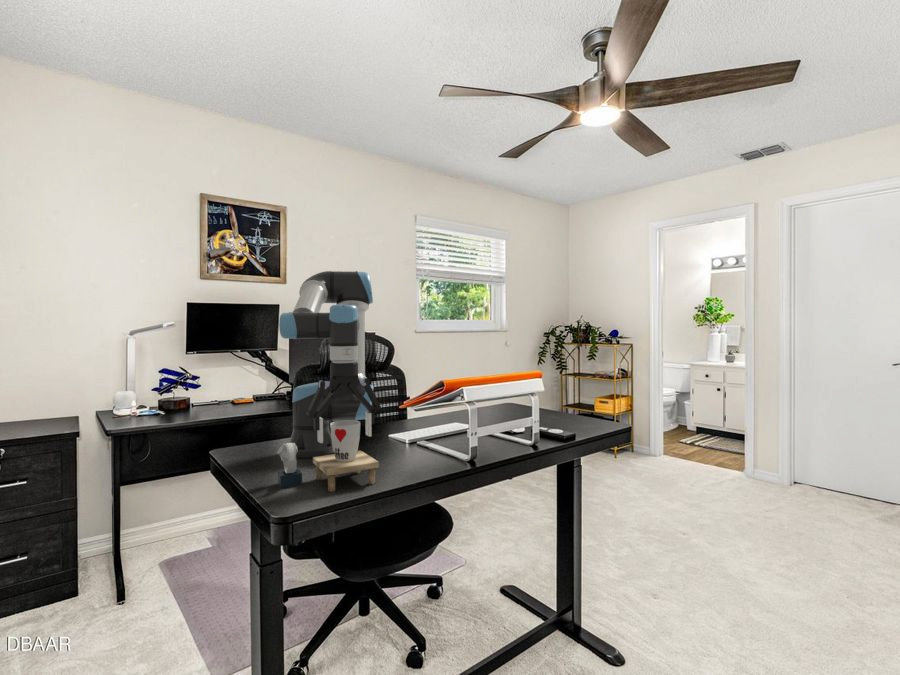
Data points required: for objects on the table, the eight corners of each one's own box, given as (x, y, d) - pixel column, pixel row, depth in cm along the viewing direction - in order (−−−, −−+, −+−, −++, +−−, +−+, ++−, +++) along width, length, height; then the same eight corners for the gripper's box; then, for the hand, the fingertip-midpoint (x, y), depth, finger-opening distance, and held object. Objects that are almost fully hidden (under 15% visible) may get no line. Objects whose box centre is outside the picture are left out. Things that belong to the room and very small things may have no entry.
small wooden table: (313, 478, 134) (312, 457, 133) (360, 470, 141) (360, 450, 141) (327, 493, 122) (327, 470, 121) (379, 484, 129) (378, 461, 129)
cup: (324, 460, 131) (323, 423, 130) (348, 453, 137) (347, 419, 137) (343, 465, 125) (342, 427, 125) (367, 458, 132) (366, 422, 132)
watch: (297, 478, 134) (297, 439, 134) (303, 486, 127) (302, 445, 127) (276, 481, 131) (276, 441, 131) (281, 490, 124) (280, 448, 124)
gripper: (300, 365, 121) (302, 448, 122) (391, 360, 134) (392, 435, 134) (294, 362, 127) (295, 441, 128) (381, 358, 140) (382, 430, 141)
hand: (345, 438), depth 131 cm, fingers open, 13 cm apart
